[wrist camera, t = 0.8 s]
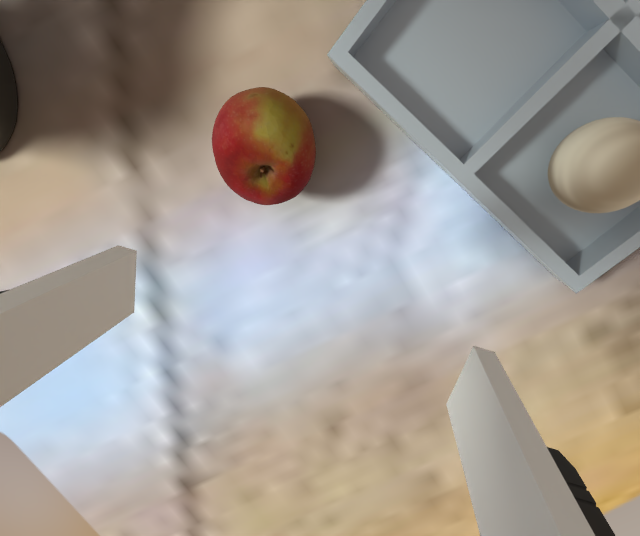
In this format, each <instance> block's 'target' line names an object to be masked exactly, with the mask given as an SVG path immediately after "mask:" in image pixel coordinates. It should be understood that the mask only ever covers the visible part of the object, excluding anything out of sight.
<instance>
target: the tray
mask: <svg viewBox="0 0 640 536" xmlns="http://www.w3.org/2000/svg"><path fill="white" fill-rule="evenodd" d="M327 55H328V57H329V59H330V60H331V62H332V63H333V65H334V66H335V67H336V68H337V69H338V70H339V71H340V72H341V73H342V74H343V75H344V76H345V77H347V78H348V79H349V80H350V81H351V82H352V83H353V84H354V85H355V86H356V87H357V88H358V89H359V90H360V91H361V92H362V93H363V94H364V95H365V96H366V97H367V98H368V99H370V100H371V101H372V102H373V103H374V104H375V105H376V106H377V107H378V108H379V109H380V110H381V111H382V112H383V113H384V114H385V115H386V116H387V117H388V118H389V119H390V120H391V121H392V122H394V123H395V124H396V125H397V126H398V127H399V128H400V129H401V130H402V131H403V132H404V133H405V134H406V135H407V136H408V137H409V138H410V139H411V140H412V141H413V142H414V143H415V144H417V145H418V146H419V147H420V148H421V149H422V150H423V151H424V152H425V153H426V154H427V155H428V156H429V157H430V158H431V159H432V160H433V161H434V162H435V163H436V164H437V165H438V166H439V167H441V168H442V169H443V170H444V171H445V172H446V173H447V174H448V175H449V176H450V177H451V178H452V179H453V180H454V181H455V182H456V183H457V184H458V185H459V186H460V187H461V188H462V189H464V190H465V191H466V192H467V193H468V194H469V195H470V196H471V197H472V198H473V199H474V200H475V201H476V202H477V203H478V204H479V205H480V206H481V207H482V208H483V209H484V210H485V211H486V212H488V213H489V214H490V215H491V216H492V217H493V218H494V219H495V220H496V221H497V222H498V223H499V224H500V225H501V226H502V227H503V228H504V229H505V230H506V231H507V232H508V233H509V234H511V235H512V236H513V237H514V238H515V239H516V240H517V241H518V242H519V243H520V244H521V245H522V246H523V247H524V248H525V249H526V250H527V251H528V252H529V253H530V254H531V255H532V256H533V257H535V258H536V259H537V260H538V261H539V262H540V263H541V264H542V265H543V266H544V267H545V268H546V269H547V270H548V271H549V272H550V273H551V274H552V275H553V276H554V277H556V278H557V279H558V280H559V281H561V282H562V283H563V284H565V285H566V286H567V287H568V288H570V289H571V290H572V291H574V292H575V293H578V292H579V291H581V290H582V289H583V288H585V287H586V286H587V285H589V284H590V283H592V282H593V281H594V280H596V279H597V278H598V277H600V276H601V275H602V274H604V273H605V272H607V271H608V270H609V269H611V268H612V267H613V266H615V265H616V264H618V263H619V262H620V261H622V260H623V259H624V258H626V257H627V256H629V255H630V254H631V253H633V252H634V251H635V250H637V249H638V248H640V200H639V201H638V202H636V203H634V204H632V205H630V206H628V207H626V208H623V209H620V210H617V211H613V212H608V213H586V212H581V211H578V210H575V209H572V208H570V207H568V206H567V205H565V204H563V203H562V202H561V201H560V200H559V199H558V198H557V197H556V196H555V195H554V193H553V192H552V190H551V187H550V185H549V181H548V166H549V162H550V159H551V156H552V154H553V152H554V151H555V149H556V147H557V146H558V145H559V144H560V142H561V141H562V140H563V139H564V138H565V137H566V136H567V135H569V134H570V133H571V132H572V131H574V130H575V129H577V128H579V127H581V126H583V125H585V124H587V123H589V122H592V121H595V120H599V119H603V118H609V117H625V118H631V119H635V120H638V121H640V0H367V1H366V2H365V3H364V5H363V6H362V7H361V9H360V10H359V12H358V13H357V14H356V16H355V17H354V18H353V20H352V21H351V22H350V24H349V25H348V27H347V28H346V29H345V31H344V32H343V33H342V35H341V36H340V38H339V39H338V40H337V42H336V43H335V44H334V46H333V47H332V49H331V50H330V51H329V53H328V54H327Z"/></svg>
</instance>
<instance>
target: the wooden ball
mask: <svg viewBox="0 0 640 536" xmlns="http://www.w3.org/2000/svg"><path fill="white" fill-rule="evenodd" d="M548 181H549V185H550V187H551V190H552V192H553V193H554V195H555V196H556V197H557V198H558V199H559V200H560V201H561V202H562V203H563V204H565V205H567V206H568V207H570V208H572V209H575V210H578V211H581V212H586V213H608V212H613V211H617V210H620V209H623V208H626V207H628V206H630V205H632V204H634V203H636V202H638V201H639V200H640V121H638V120H635V119H631V118H625V117H609V118H603V119H599V120H595V121H592V122H589V123H587V124H585V125H583V126H581V127H579V128H577V129H575V130H574V131H572V132H571V133H570V134H569V135H567V136H566V137H565V138H564V139H563V140H562V141H561V142H560V144H559V145H558V146H557V147H556V149H555V151H554V152H553V154H552V156H551V159H550V162H549V166H548Z"/></svg>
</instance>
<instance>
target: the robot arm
mask: <svg viewBox="0 0 640 536" xmlns="http://www.w3.org/2000/svg"><path fill="white" fill-rule="evenodd" d="M16 116H17V91H16V84H15V79H14V75H13V71H12V68H11V64H10V62H9V59H8V56H7V54H6V52H5V49H4V47H3V45H2V43H1V41H0V151H1V150H2V149H3V148H4V146H5V145H6V144H7V142H8V140H9V139H10V137H11V135H12V132H13V129H14V126H15V122H16ZM136 254H137V251H136V250H132V249H129V248H125V247H122V246H116V247H113V248H111V249H108V250H106V251H104V252H101V253H99V254H96V255H94V256H91V257H89V258H86V259H84V260H82V261H79V262H77V263H74V264H72V265H69V266H67V267H64V268H62V269H60V270H57V271H55V272H52V273H50V274H47V275H45V276H42V277H40V278H38V279H35V280H33V281H30V282H28V283H25V284H23V285H20V286H18V287H16V288H13V289H11V290H6V291H1V292H0V407H1V406H2V405H4V404H5V403H7V402H8V401H10V400H11V399H12V398H14V397H15V396H17V395H18V394H19V393H21V392H22V391H24V390H25V389H26V388H28V387H29V386H31V385H32V384H33V383H35V382H36V381H38V380H39V379H41V378H42V377H43V376H45V375H46V374H48V373H49V372H50V371H52V370H53V369H55V368H56V367H57V366H59V365H60V364H62V363H63V362H65V361H66V360H67V359H69V358H70V357H72V356H73V355H74V354H76V353H77V352H79V351H80V350H81V349H83V348H84V347H86V346H87V345H88V344H90V343H91V342H93V341H94V340H96V339H97V338H98V337H100V336H101V335H103V334H104V333H105V332H107V331H108V330H110V329H111V328H112V327H114V326H115V325H117V324H118V323H120V322H121V321H122V320H124V319H125V318H127V317H128V316H129V315H131V314H132V313H134V302H135V278H136ZM447 408H448V412H449V416H450V420H451V424H452V427H453V431H454V435H455V439H456V443H457V447H458V451H459V455H460V458H461V462H462V466H463V470H464V474H465V478H466V482H467V486H468V489H469V493H470V497H471V501H472V505H473V509H474V513H475V516H476V520H477V524H478V528H479V532H480V536H615V534H614V533H613V531H612V529H611V527H610V526H609V524H608V522H607V521H606V519H605V517H604V516H603V514H602V512H601V511H600V509H599V508H598V507H596V502H595V501H594V499H593V497H592V496H591V494H590V492H589V491H587V490H586V488H587V487H586V486H585V484H584V482H583V481H582V479H581V477H580V476H579V474H578V472H577V471H576V469H575V468H574V467H573V466H572V465H571V464H570V462H569V461H568V460H567V459H566V458H565V457H564V456H563V455H562V454H561V453H560V452H559V451H558V450H555V449H552V448H548V447H546V445H545V443H544V441H543V439H542V438H541V436H540V434H539V432H538V430H537V429H536V427H535V425H534V423H533V421H532V419H531V418H530V416H529V414H528V412H527V410H526V408H525V407H524V405H523V403H522V401H521V399H520V398H519V396H518V394H517V392H516V390H515V388H514V387H513V385H512V383H511V381H510V379H509V377H508V376H507V374H506V372H505V370H504V368H503V366H502V365H501V363H500V361H499V359H498V357H497V356H496V354H495V352H493V351H490V350H486V349H482V348H479V347H475V346H473V348H472V350H471V353H470V355H469V357H468V359H467V361H466V363H465V365H464V368H463V370H462V372H461V374H460V376H459V378H458V380H457V383H456V385H455V387H454V389H453V391H452V393H451V395H450V397H449V400H448V402H447Z"/></svg>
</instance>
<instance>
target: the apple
mask: <svg viewBox="0 0 640 536" xmlns="http://www.w3.org/2000/svg"><path fill="white" fill-rule="evenodd" d="M212 146H213V153H214V157H215V161H216V165H217V167H218V170H219V172H220V174H221V176H222V178H223V179H224V181H225V182H226V184H227V185H228V186H229V187H230V188H231V189H232V190H233V191H234V192H235V193H237V194H238V195H239V196H241V197H242V198H244V199H246V200H249V201H251V202H254V203H257V204H261V205H273V204H279V203H282V202H285V201H288V200H290V199H292V198H294V197H295V196H297V195H298V194H299V193H300V192H301V191H302V190H303V189H304V187H305V186H306V185H307V183H308V181H309V180H310V177H311V174H312V171H313V168H314V163H315V156H316V148H315V139H314V134H313V129H312V126H311V123H310V121H309V119H308V117H307V115H306V114H305V112H304V111H303V110H302V108H301V107H300V106H299V105H298V104H297V103H296V102H295V101H294V100H293V99H292V98H290V97H289V96H287V95H285V94H284V93H281V92H279V91H277V90H275V89H271V88H266V87H259V88H253V89H249V90H245V91H242V92H240V93H237V94H236V95H234V96H232V97H231V98H230V99H229V100H227V102H226V103H225V104H224V105H223V107H222V108H221V110H220V112H219V114H218V116H217V118H216V120H215V124H214V128H213V134H212Z"/></svg>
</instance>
